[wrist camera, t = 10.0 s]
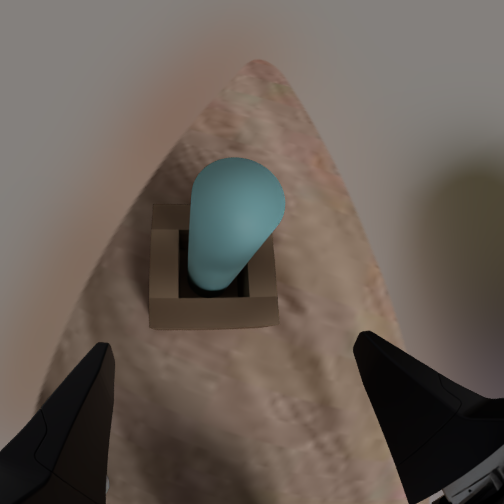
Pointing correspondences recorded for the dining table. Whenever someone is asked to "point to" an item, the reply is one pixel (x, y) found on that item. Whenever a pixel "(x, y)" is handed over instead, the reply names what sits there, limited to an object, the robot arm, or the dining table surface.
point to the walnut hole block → (192, 305)
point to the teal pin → (229, 221)
